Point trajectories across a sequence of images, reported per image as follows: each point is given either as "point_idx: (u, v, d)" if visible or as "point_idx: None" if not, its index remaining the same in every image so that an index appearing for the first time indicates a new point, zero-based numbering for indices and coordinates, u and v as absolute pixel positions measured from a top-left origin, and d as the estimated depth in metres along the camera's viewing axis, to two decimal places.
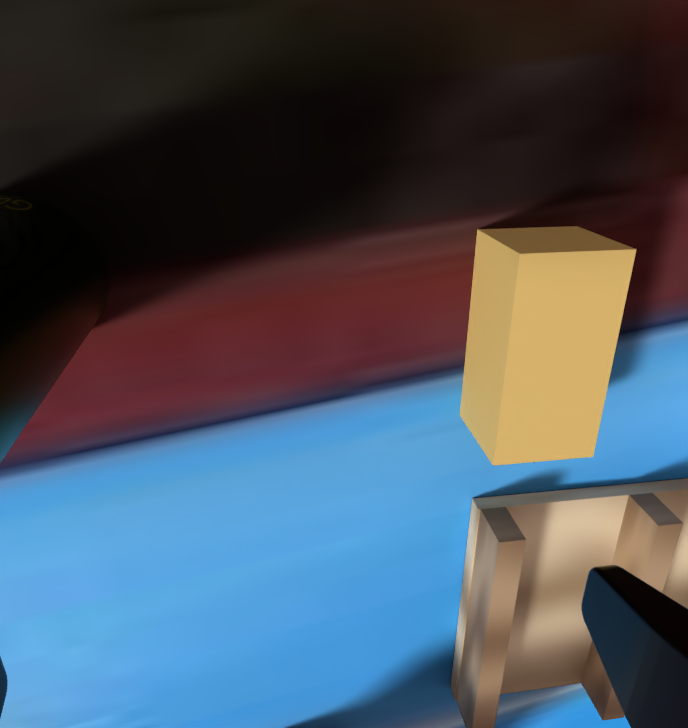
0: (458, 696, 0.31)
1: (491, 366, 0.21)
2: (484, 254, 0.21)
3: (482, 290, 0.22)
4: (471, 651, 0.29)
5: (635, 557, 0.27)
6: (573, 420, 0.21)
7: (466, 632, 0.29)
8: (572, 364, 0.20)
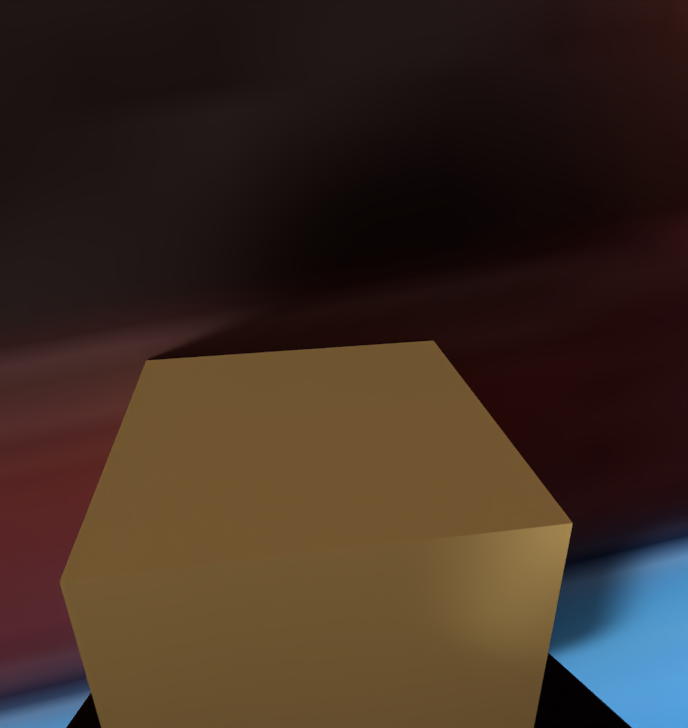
0: None
1: None
2: None
3: None
4: None
5: None
6: None
7: None
8: None
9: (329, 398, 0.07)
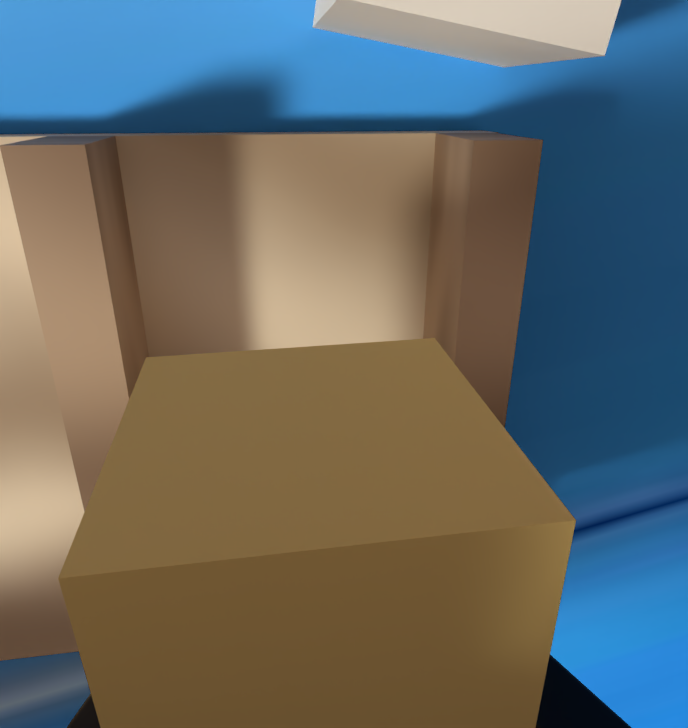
0: None
1: None
2: None
3: None
4: None
5: None
6: None
7: None
8: None
9: (330, 395, 0.07)
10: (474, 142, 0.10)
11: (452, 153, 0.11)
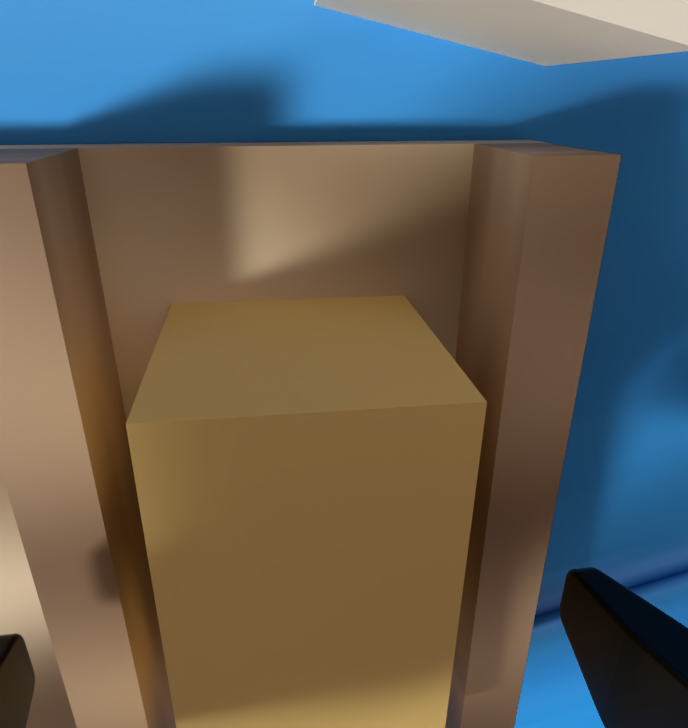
0: None
1: None
2: None
3: None
4: None
5: None
6: None
7: None
8: (351, 661, 0.08)
9: (317, 330, 0.09)
10: (534, 157, 0.07)
11: (499, 170, 0.08)
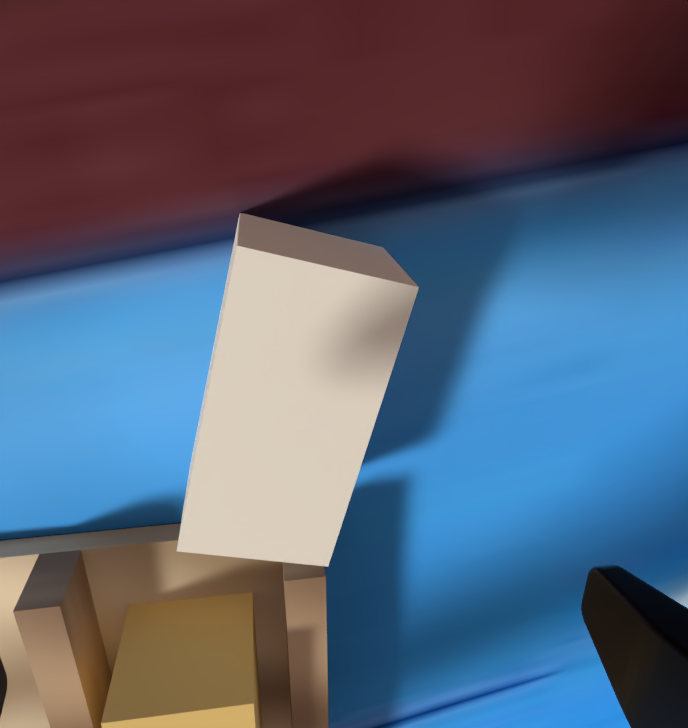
0: None
1: None
2: None
3: None
4: None
5: None
6: None
7: None
8: None
9: (197, 634, 0.18)
10: (284, 581, 0.17)
11: None
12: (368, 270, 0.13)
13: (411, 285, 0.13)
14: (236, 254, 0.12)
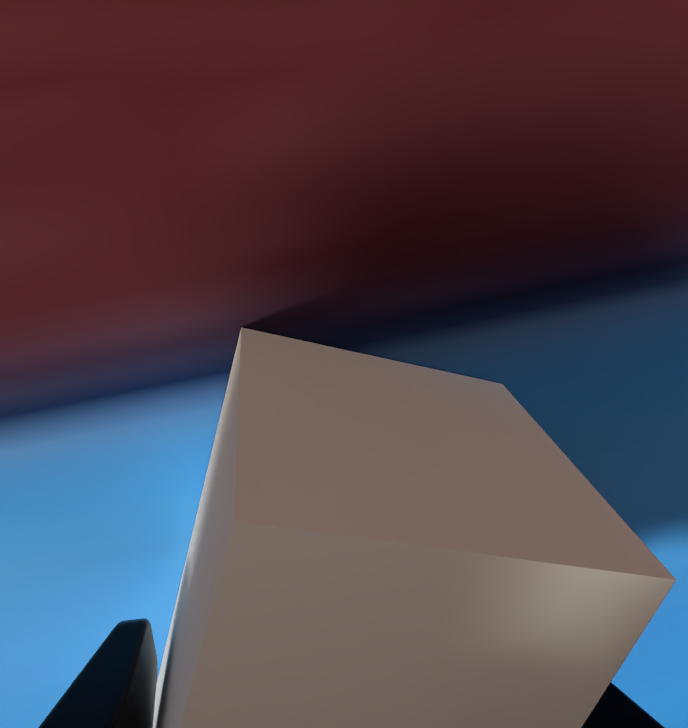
0: None
1: None
2: None
3: None
4: None
5: None
6: None
7: None
8: None
9: None
10: None
11: None
12: (546, 525, 0.05)
13: (658, 576, 0.05)
14: (231, 538, 0.04)
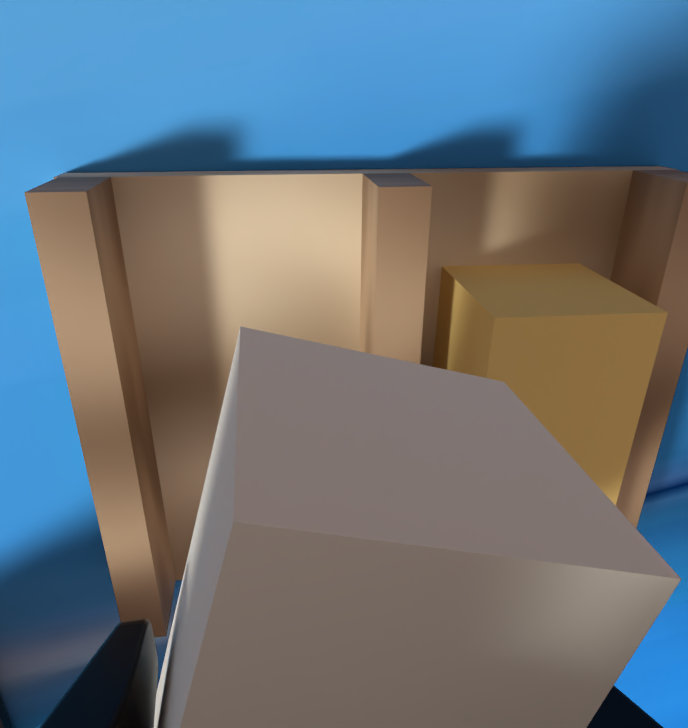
0: None
1: None
2: (451, 304, 0.15)
3: (448, 353, 0.16)
4: None
5: (369, 287, 0.14)
6: None
7: None
8: None
9: (545, 280, 0.15)
10: (687, 183, 0.14)
11: (656, 188, 0.15)
12: (549, 524, 0.05)
13: (663, 575, 0.05)
14: (230, 539, 0.04)
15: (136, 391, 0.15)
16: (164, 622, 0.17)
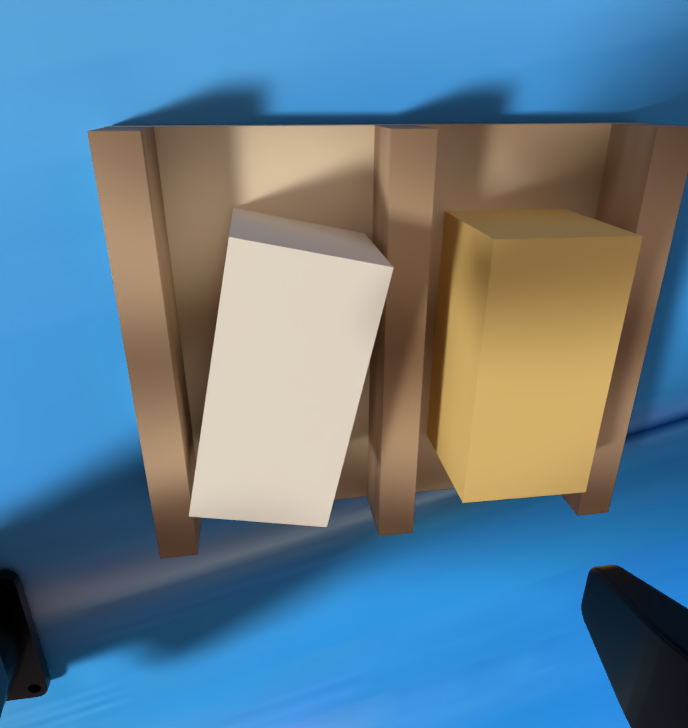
0: None
1: (461, 381, 0.17)
2: (454, 242, 0.17)
3: (451, 287, 0.18)
4: None
5: (382, 224, 0.16)
6: (561, 448, 0.17)
7: None
8: (561, 380, 0.16)
9: (536, 219, 0.17)
10: (657, 127, 0.16)
11: (632, 136, 0.17)
12: (348, 254, 0.14)
13: (386, 266, 0.14)
14: (228, 244, 0.13)
15: (173, 323, 0.17)
16: (196, 541, 0.19)
